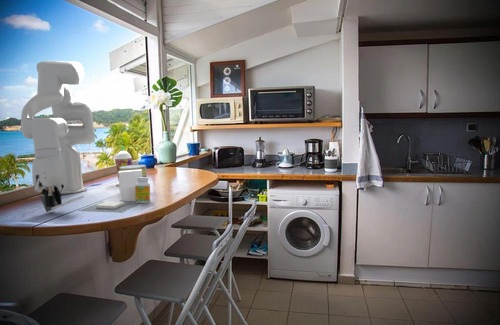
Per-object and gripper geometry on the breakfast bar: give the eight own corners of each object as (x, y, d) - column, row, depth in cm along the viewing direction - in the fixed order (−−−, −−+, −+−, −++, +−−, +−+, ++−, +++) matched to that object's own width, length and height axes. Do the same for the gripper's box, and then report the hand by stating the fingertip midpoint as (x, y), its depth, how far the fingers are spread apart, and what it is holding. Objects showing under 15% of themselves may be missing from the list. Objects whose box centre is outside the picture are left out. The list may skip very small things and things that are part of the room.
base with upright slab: (121, 203, 125) (118, 173, 123) (120, 198, 133) (117, 170, 131) (145, 200, 128) (142, 171, 127) (143, 196, 136) (140, 168, 135)
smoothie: (117, 182, 170) (113, 145, 167) (133, 181, 173) (130, 144, 171) (117, 185, 162) (113, 146, 160) (134, 183, 166) (131, 145, 163)
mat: (78, 212, 114) (77, 210, 114) (103, 203, 127) (102, 201, 126) (121, 214, 110) (121, 212, 110) (143, 204, 122) (142, 202, 122)
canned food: (151, 189, 149) (150, 164, 147) (141, 195, 138) (139, 168, 136) (128, 190, 150) (126, 165, 148) (116, 195, 139) (114, 168, 137)
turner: (43, 213, 111) (36, 197, 110) (55, 209, 116) (49, 193, 115) (73, 200, 107) (66, 184, 107) (84, 197, 112) (77, 181, 111)
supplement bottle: (136, 203, 120) (136, 177, 120) (134, 202, 125) (134, 177, 125) (151, 202, 123) (151, 177, 123) (148, 201, 127) (148, 177, 127)
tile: (95, 205, 116) (114, 205, 114) (106, 201, 122) (125, 201, 120) (96, 208, 116) (114, 209, 114) (107, 204, 122) (125, 204, 120)
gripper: (58, 151, 119) (63, 199, 121) (17, 156, 103) (24, 211, 106) (74, 151, 117) (80, 200, 119) (36, 155, 101) (42, 212, 104)
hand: (53, 205), depth 112 cm, fingers closed on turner
